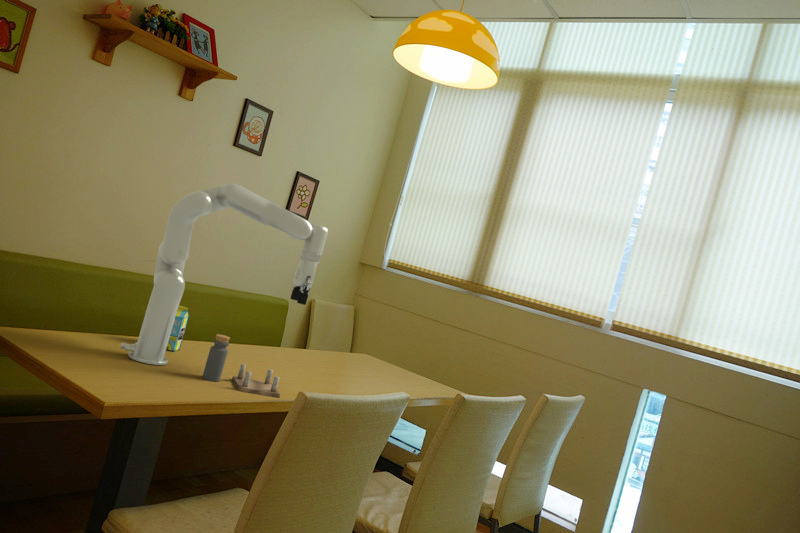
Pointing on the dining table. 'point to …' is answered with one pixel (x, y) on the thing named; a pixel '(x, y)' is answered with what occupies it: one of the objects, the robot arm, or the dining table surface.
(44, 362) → the dining table surface
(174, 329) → the carton
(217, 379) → the bottle
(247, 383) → the pegboard
